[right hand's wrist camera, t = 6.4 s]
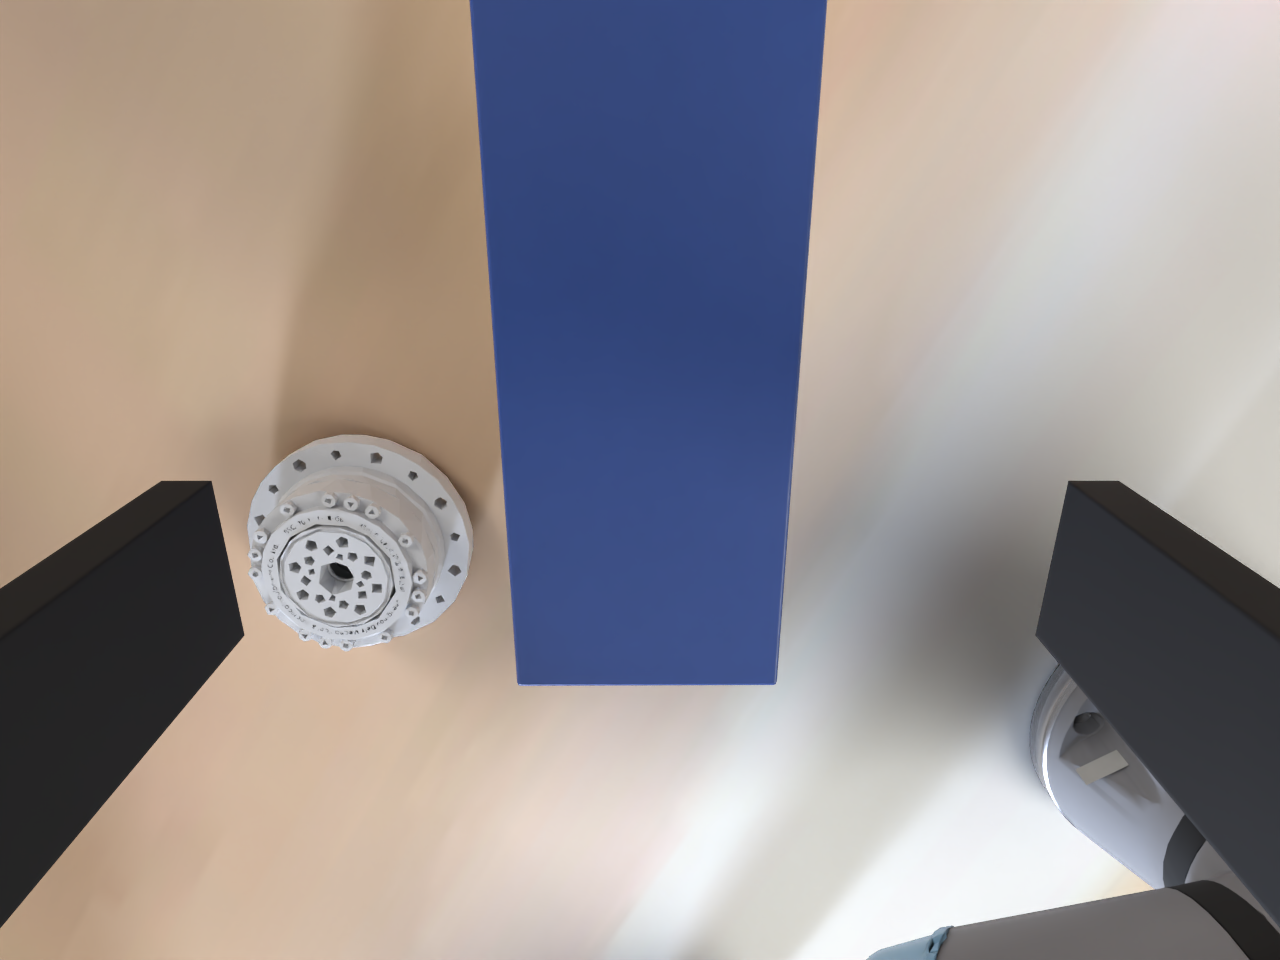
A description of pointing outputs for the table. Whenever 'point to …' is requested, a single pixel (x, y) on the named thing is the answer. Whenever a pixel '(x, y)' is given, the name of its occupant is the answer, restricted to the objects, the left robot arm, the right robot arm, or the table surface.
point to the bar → (647, 324)
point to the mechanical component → (357, 541)
